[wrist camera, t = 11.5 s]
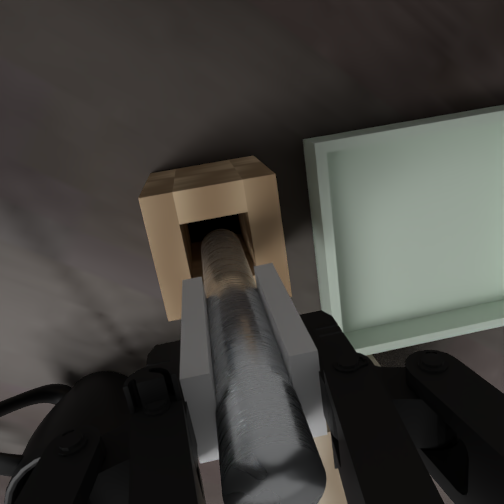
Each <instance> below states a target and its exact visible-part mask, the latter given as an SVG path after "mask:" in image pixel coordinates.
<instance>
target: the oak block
mask: <svg viewBox="0 0 504 504" xmlns="http://www.w3.org/2000/svg"><path fill="white" fill-rule="evenodd" d="M138 199H139V203H140V207H141V211H142V215H143V219H144V223H145V227H146V232H147V236H148V240H149V244H150V248H151V252H152V256H153V260H154V264H155V268H156V272H157V276H158V281H159V285H160V289H161V293H162V297H163V301H164V305H165V309H166V313H167V317H168V321H173V320H178V319H181V313H182V280H186V279H191V278H196V277H201V276H202V280H203V285H204V279H203V267H202V256H201V244H202V241H199V242H194V243H191V239H190V234H189V229H188V224H187V223H190V222H196V221H201V220H206V219H212V218H217V217H223V216H228V215H233V214H238V218H239V224H240V230H241V234H237V237H238V238H239V240H240V243H241V245H242V248H243V251H244V253H245V256H246V259H247V261H248V264H249V267H250V269H251V272H252V275H253V277H254V280H255V283H256V279H255V273H254V267H253V266H258V265H263V264H268V263H273V265H274V267H275V269H276V271H277V273H278V275H279V277H280V279H281V281H282V283H283V285H284V286H285V288H286V290H287V292H288V294H289V296H290V297H292V293H291V286H290V278H289V271H288V263H287V256H286V249H285V241H284V234H283V226H282V219H281V211H280V204H279V196H278V189H277V181H276V174H275V173H274V172H273V171H271V170H270V169H269V168H268V167H267V166H265V165H264V164H263V163H262V162H261V161H259V160H258V159H257V158H256V157H255V156H247V157H242V158H236V159H230V160H224V161H219V162H213V163H207V164H201V165H196V166H190V167H184V168H178V169H173V170H167V171H161V172H156V173H150V175H149V177H148V180H147V182H146V184H145V186H144V188H143V190H142V192H141V194H140V196H139V198H138ZM256 286H257V285H256Z"/></svg>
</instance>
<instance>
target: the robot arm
mask: <svg viewBox="0 0 504 504" xmlns="http://www.w3.org/2000/svg"><path fill="white" fill-rule="evenodd" d="M253 267H254V273H255V279H256V285H257V290H258V293H259V295H260V298H261V301H262V303H263V306H264V309H265V312H266V314H267V317H268V320H269V322H270V325H271V328H272V331H273V333H274V336H275V339H276V341H277V344H278V347H279V350H280V352H281V355H282V358H283V360H284V363H285V366H286V369H287V371H288V374H289V377H290V380H291V382H292V385H293V387H294V389H295V391H296V393H297V396H298V398H299V401H300V404H301V406H302V409H303V412H304V414H305V417H306V420H307V423H308V425H309V428H310V431H311V433H312V436H313V438H315V437H319V436H323V435H328V434H327V425H326V422H327V424H328V426H329V429H330V432H331V441H332V449H333V458H334V467H335V469H338V470H339V474H340V478H341V481H342V485H343V489H344V492H345V496H346V500H347V504H444V502H443V500H442V498H441V496H440V494H439V492H438V490H437V488H436V486H435V484H434V482H433V480H432V478H431V476H432V477H433V479H434V480H435V481H436V482H437V483H438V484H439V486H440V487H441V488H442V489H443V490H444V492H445V493H446V494H447V495H448V496H449V498H450V499H451V500H452V501H453V502H454V503H455V504H504V394H503V393H502V392H501V391H499V390H498V389H497V388H495V387H494V386H493V385H491V384H490V383H489V382H487V381H486V380H485V379H483V378H482V377H480V376H479V375H478V374H476V373H475V372H474V371H472V370H471V369H470V368H468V367H467V366H466V365H464V364H463V363H462V362H460V361H459V360H458V359H456V358H455V357H453V356H451V355H449V354H447V353H444V352H440V351H435V350H424V351H418V352H415V353H413V354H411V355H409V357H408V358H407V359H406V367H380V366H375V365H374V364H373V362H372V361H371V360H370V358H369V357H367V356H365V355H363V354H361V353H357V352H356V351H355V349H354V348H353V346H352V345H351V343H350V342H349V340H348V339H347V337H346V336H345V334H344V333H343V332H342V330H341V328H340V327H339V326H338V324H337V322H336V321H335V319H334V318H333V316H331V315H329V314H328V313H326V312H324V311H322V310H321V311H316V312H311V313H306V314H302V315H299V313H298V311H297V310H296V308H295V306H294V304H293V302H292V300H291V298H290V296H289V294H288V292H287V290H286V288H285V286H284V285H283V283H282V281H281V279H280V277H279V275H278V273H277V271H276V269H275V267H274V265H273V263H268V264H263V265H258V266H253ZM123 390H124V394H125V397H126V400H127V404H128V407H129V410H130V414H131V419H130V420H128V421H127V422H126V423H124V424H123V425H121V426H119V427H117V428H115V429H113V430H111V431H108V432H106V433H104V434H102V435H101V434H100V432H99V430H98V428H96V427H94V426H92V425H81V426H77V427H73V428H71V429H68V430H66V431H64V432H62V433H61V434H59V435H58V436H57V437H56V438H54V439H53V440H52V441H51V442H50V443H49V445H48V446H47V447H46V448H45V450H44V452H43V454H42V455H41V457H40V459H39V461H38V462H37V464H36V466H35V468H34V469H33V471H32V473H31V475H30V476H29V478H28V480H27V482H26V483H25V485H24V487H23V488H22V490H21V492H20V494H19V495H18V497H17V499H16V501H15V502H14V504H206V501H205V495H204V490H203V484H202V478H201V474H200V470H199V466H198V456H199V460H200V463H204V462H209V461H213V460H218V459H219V451H218V439H217V428H216V416H215V408H216V397H215V386H214V375H213V365H212V354H211V343H210V333H209V322H208V311H207V300H206V295H205V290H204V285H203V280H202V276H201V277H196V278H191V279H186V280H182V313H181V340H180V341H175V342H170V343H165V344H160V345H156V346H155V347H154V348H153V349H152V351H151V352H150V353H149V355H148V358H147V367H145V368H143V369H140V370H138V371H136V372H135V373H133V374H132V375H130V376H129V377H128V379H127V380H126V381H125V383H124V385H123ZM430 475H431V476H430Z"/></svg>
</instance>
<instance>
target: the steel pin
mask: <svg viewBox="0 0 504 504" xmlns="http://www.w3.org/2000/svg"><path fill="white" fill-rule="evenodd" d="M201 256H202V267H203V279H204V290H205V295H206V300H207V311H208V322H209V333H210V343H211V354H212V365H213V375H214V386H215V397H216V408H215V416H216V428H217V439H218V451H219V462H220V474H221V485H222V496H223V501H224V504H317V503H318V502H319V501H320V499H321V497H322V496H323V493H324V491H325V487H326V481H327V479H326V471H325V468H324V465H323V463H322V460H321V457H320V455H319V452H318V449H317V447H316V444H315V441H314V439H313V436H312V433H311V431H310V428H309V425H308V423H307V420H306V417H305V414H304V412H303V409H302V406H301V404H300V401H299V398H298V396H297V393H296V391H295V389H294V387H293V385H292V382H291V380H290V377H289V374H288V371H287V369H286V366H285V363H284V360H283V358H282V355H281V352H280V350H279V347H278V344H277V341H276V339H275V336H274V333H273V331H272V328H271V325H270V322H269V320H268V317H267V314H266V312H265V309H264V306H263V303H262V301H261V298H260V295H259V293H258V290H257V286H256V283H255V280H254V277H253V275H252V272H251V269H250V267H249V264H248V261H247V259H246V256H245V253H244V251H243V248H242V245H241V243H240V240H239V238H238V237H237V235H236V234H234V233H233V232H231V231H229V230H226V229H217V230H214V231H211V232H210V233H208V234H207V235H206V236H205V238H204V239H203V241H202V244H201Z"/></svg>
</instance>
